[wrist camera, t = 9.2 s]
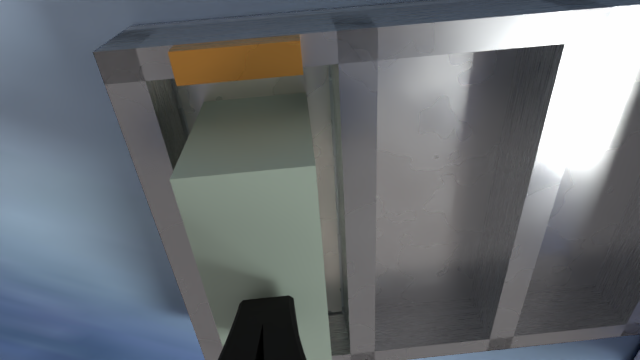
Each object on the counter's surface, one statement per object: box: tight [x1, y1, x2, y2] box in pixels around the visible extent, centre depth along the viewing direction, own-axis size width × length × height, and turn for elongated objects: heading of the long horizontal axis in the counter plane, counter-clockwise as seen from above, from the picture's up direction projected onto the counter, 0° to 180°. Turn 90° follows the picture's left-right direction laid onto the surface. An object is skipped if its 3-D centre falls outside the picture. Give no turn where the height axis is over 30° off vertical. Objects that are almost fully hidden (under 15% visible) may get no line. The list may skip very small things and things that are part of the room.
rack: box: [93, 0, 640, 360], centre depth 14 cm, size 18×14×3 cm
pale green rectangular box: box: [170, 93, 332, 360], centre depth 14 cm, size 3×10×4 cm, turn 3°
